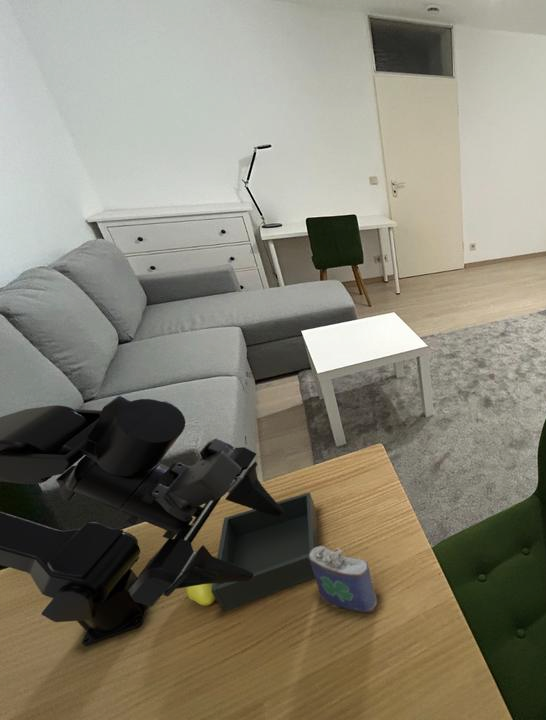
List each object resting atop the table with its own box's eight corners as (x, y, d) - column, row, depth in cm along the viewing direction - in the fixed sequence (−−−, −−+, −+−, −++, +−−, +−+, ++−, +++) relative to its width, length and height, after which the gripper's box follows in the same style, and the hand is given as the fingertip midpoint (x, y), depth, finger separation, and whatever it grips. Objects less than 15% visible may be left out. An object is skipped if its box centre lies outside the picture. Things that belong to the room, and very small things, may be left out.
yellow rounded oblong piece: (185, 580, 60) (213, 563, 62) (198, 619, 55) (229, 599, 57) (174, 563, 58) (204, 546, 60) (187, 603, 53) (219, 582, 55)
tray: (223, 612, 56) (211, 591, 53) (233, 537, 66) (224, 517, 64) (320, 575, 60) (313, 555, 58) (316, 511, 71) (309, 491, 68)
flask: (380, 599, 57) (369, 552, 52) (369, 619, 54) (356, 573, 49) (327, 580, 59) (311, 534, 54) (314, 599, 57) (296, 553, 52)
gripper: (104, 517, 34) (270, 584, 39) (218, 396, 50) (324, 456, 56) (59, 579, 37) (217, 632, 43) (179, 447, 53) (282, 498, 59)
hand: (267, 542), depth 50 cm, fingers open, 9 cm apart
